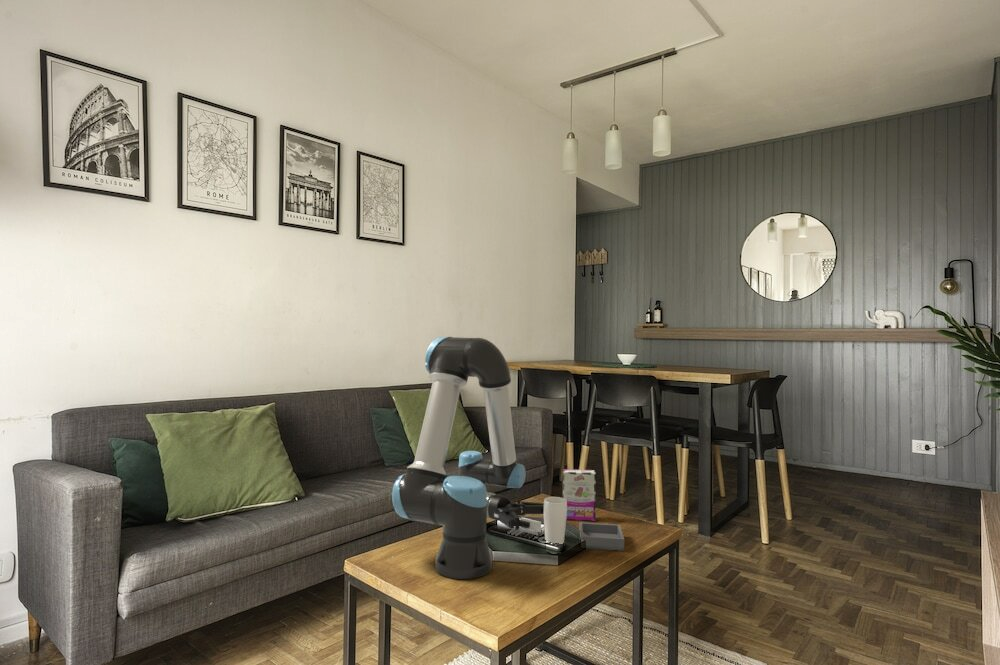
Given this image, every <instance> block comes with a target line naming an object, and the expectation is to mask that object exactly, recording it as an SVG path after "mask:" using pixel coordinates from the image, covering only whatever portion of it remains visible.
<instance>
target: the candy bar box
mask: <svg viewBox="0 0 1000 665" xmlns="http://www.w3.org/2000/svg"><path fill="white" fill-rule="evenodd" d="M596 480H597V473H596V470H595V469H593V470H592V469H570V468H569V469H567V468H565V469H563V470H562V498H564V499H566V500H567V518H566V521H579V522H580V521H581V522H582V521H583V522H584V521H585V522H595V521H596V501H597V500H596V494H597V493H596V492H597V491H596V488H597V487H596V483H597V481H596Z"/></svg>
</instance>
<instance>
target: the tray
mask: <svg viewBox="0 0 1000 665" xmlns="http://www.w3.org/2000/svg"><path fill="white" fill-rule="evenodd" d="M578 525H579V528H578V531H579V530H580V536H579V538H580V537H581V540H585V541H586V549H585V550H597V551H598V550H599V551H600V550H601V551H612V550H618V551H617V552H625V537H624V534H623V530H622V528H621V524H615V523H614V524H613V523H611V524H610V523H595V522H582V521H581V522H580V521H579V524H578ZM583 532H584V533H585V534H586V535H588V536H583Z"/></svg>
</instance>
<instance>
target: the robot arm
mask: <svg viewBox="0 0 1000 665" xmlns="http://www.w3.org/2000/svg"><path fill="white" fill-rule="evenodd" d="M424 363H425V364H424V365H425V367H424V368H425V369H426V371H427V372H428V373H429V374H428V377H429V378H428V379H429V380H430V381H431V388H430V391H429V395H428V396H429V397H428V400H427V404H426V405H427V406H426V409H425V414H424V418H423V421H422V425H421V426H422V427H421V430H420V435H419V437H418V438H419V439H418V443H417V447H416V452H415V455H414V456H415V457H414V460H413V463H411V464H409V465H408V466H407V467H406V470H405V473H404V474H401V475H399V476H398V477H397V479H396V480H395V481H394V484H393V488H392V492H391V496H392V497H391V500H392V505H393V508H394V511H395V513H396V514H397V515H398V516H399V517H400V518H404V519H408V520H410V521H413V522H414V521H415V522H416V521H417V522H422V523H427V524H431V525H432V524H433V525H438V526H441V527H442V539H441V542H440V545H439V548H438V551H437V554H436V557H435V564H434V565H435V566H434V568H435V571H436V573H438V574H439V575H442V576H443V577H446V578H449V579H455V580H456V579H457V580H471V579H478V578H482V577H484V576H486V575H488V574H490V572H491V571H492V569H493V558H492V554H491V551H490V550H491V549H490V548H489V545H488V541H487V520H488V519H491V520H495V521H499V522H501V524H504V525H505V526H506V527H508V528H510V529H515V531H519V530H520V528H522V529H526V530H529V531H533V532H538V533H541V532H542V521H539V520H534V519H531V518H527V517H524V516H525V515H544V502H531V501H523V500H517V501H516V502H511V501H510V499H509V497H508V496H505V495H502V494H496V493H494V492H488V491H487V487H486V485H489V486H497V487H504V488H507V489H520V488H522V486H523V485H524V483H525V481H526V476H527V475H526V468H525V465H524V464H522V463H519V462H517V455H516V448H515V447H516V446H515V438H514V437H515V436H514V429H513V420H512V419H513V418H512V410H511V399H510V391H509V385H510V384H511V382H512V380H511V371H510V368H509V364H508V363H507V360H506V358H505V356H504V354H503V353H502V351H501V349H499V347H497V346H496V345H495V343H493V342H492V341H490V340H488V339H486V338H483V337H481V338H480V337H457V336H456V337H452V336H446V337H438V338H435V339H433V340H432V341H431V343H430V344H429V345H428V347H427V350H426V352H425V356H424ZM469 377H471V378H472V377H473V378H477V380H478V385H479V387H480V388H481V389H483V390H482V391H483V396H484V397H483V399H484V405H485V406H484V407H485V413H486V420H487V428H488V435H489V444H490V453H491V459H492V460H489V459H483V457H484V456H483V454H482V452H480V451H477V450H464V451H463V452H461V453H460V454H459V460H458V465H457V466H458V475H456V474H455V475H449V476H448V474H447V472H446V470H445V469H444V467H445V463H446V457H447V454H448V450H449V444H450V439H451V437H452V436H451V434H452V432H453V431H452V430H453V425H454V420H455V417H456V416H455V415H456V411H457V407H458V402H459V398H460V393H461V389H462V388H463V387H465V386H467V384H468V380H469ZM519 516H522V517H519Z"/></svg>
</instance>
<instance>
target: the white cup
mask: <svg viewBox="0 0 1000 665" xmlns="http://www.w3.org/2000/svg"><path fill="white" fill-rule="evenodd" d="M543 503H544V514H543V527H544V541H545V540H546V541H548V542H552V543H559V544H563V543H564V544H565V535H566V525H567V520H566V518H567V500H566V499H564V498H563V497H560V496H549V497H545V498H544V499H543Z"/></svg>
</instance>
